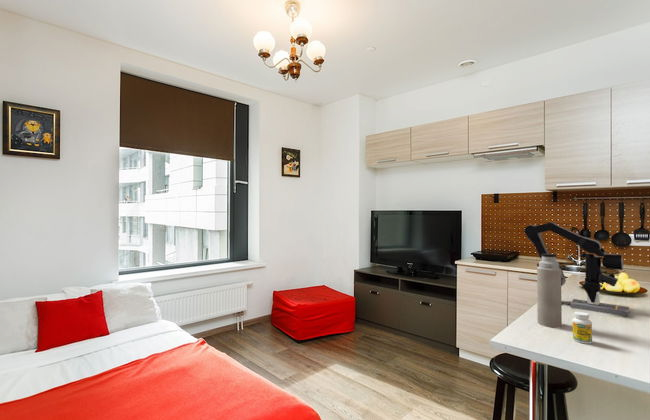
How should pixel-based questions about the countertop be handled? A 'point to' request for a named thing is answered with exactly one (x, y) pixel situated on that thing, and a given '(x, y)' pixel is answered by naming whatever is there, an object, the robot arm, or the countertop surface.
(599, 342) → the countertop surface
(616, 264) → the robot arm
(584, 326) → the supplement bottle
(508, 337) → the countertop surface
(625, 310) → the console board
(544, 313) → the thermos bottle
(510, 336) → the countertop surface
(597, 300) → the fader cap
